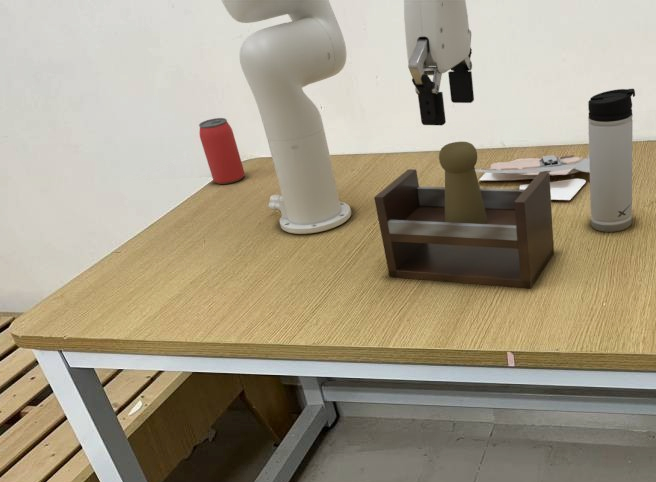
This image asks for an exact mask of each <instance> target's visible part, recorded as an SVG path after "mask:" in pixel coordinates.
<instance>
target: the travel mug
mask: <svg viewBox="0 0 656 482" xmlns="http://www.w3.org/2000/svg"><path fill="white" fill-rule="evenodd" d="M635 96H636V91H635V88H618V89H611V90H607V91H603V92H600V93H596V94H595V95H593V96H592V97H590V100H588V101H587V102H588V103H587V105H588V116H587V117H588V118H587V119H588V124H587V125H588V155H589V157H588V158H589V164H590V172H589V196H590V197H589V198H590V199H589V200H590V226H591V227H592V228H593V229H594V230H596V231H598V232H603V233H615V232H621V231H623V230H626V229H628V228H629V227H630V226H631V225H632V222H633V214H632V213H633V115H634V114H633V101H632V97H633V98H634V97H635Z"/></svg>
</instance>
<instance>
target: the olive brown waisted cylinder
mask: <svg viewBox="0 0 656 482" xmlns="http://www.w3.org/2000/svg"><path fill="white" fill-rule="evenodd" d="M438 160H439V164H440V166H441V168H442V169H443V170H444V187H445V222H450V223H471V224H484V223H485V222H486V221H487V216H486V211H485V207H484V203H483V199H482V195H481V191H480V188H481V187H480V184H479V179H478V175H477V172H476V171H475V169H476V168H475V167H476V164H477V162H478V152H477V148H476V147H475V146H474V145H473V143H471V142H468V141H454V142H449V143H447V144H445V145H444V146H442V147H441V149H440V151H439V153H438Z"/></svg>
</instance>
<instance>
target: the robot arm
mask: <svg viewBox="0 0 656 482" xmlns="http://www.w3.org/2000/svg"><path fill="white" fill-rule="evenodd" d="M221 2H222V4H223V7H224V8H225V9H226V12H227V13H228V15H230V17H231V18H232V19H233V20H234V21H236V22H238V23H241V24H251V23H252V24H253V23H257V22H261V21H266V20H270V19H274V18H277V17H281V16H282V17H283V16H285V15H288V17H289V18H290V20H291V21H287V22H283V23H279V24H275V25H272V26H268V27H265V28H261V29H258V30H257V31H255V32H252V33H251V34H250V35H248V36H247V37H246V38H245V39H244V41H243V42H242V44H241V45H240V49H239V63H240V66H241V70H242V72H243V75H244V77H245V79H246V81H247V84H248V87H249V88H250V91H251V93H252V95H253V97H254V101H255V103H256V105H257V109H258V112H259V114H260V118H261V122H262V125H263V126H262V127H263V129H264V133H265V137H266V140H267V144H268V148H269V151H270V156H271V160H272V163H273V167H274V171H275V174H276V178H277V182H278V186H279V189H280V193H281V194H272V195H270V197H269V203H268V209H269V210H270V211H280V213H281V216H280V218H279V226H280V228H281V230H283V231H284V232H287V233H290V234H296V235H297V234H298V235H307V234H316V233H321V232H325V231H328V230H331V229H334V228H336V227H338V226H339V227H340V225H343V224H344V223H345V222H347V221H349V219H350V217H351V216H352V209H351V206H350V205H349V204H348V203H346V202H343V201H340V196H339V192H338V187H337V182H336V177H335V172H334V169H333V163H332V159H331V154H330V149H329V146H328V141H327V137H326V132H325V131H326V130H325V127H324V123H323V119H322V115H321V112H320V111H319V108H318V107H317V105H316V103H314V101H312V100H311V99H310V98H309V96H308V95H307V94H306V93H305V92H304V90H303V88H305V87H307V86H308V85H311V84H315V83H317V82H321V81H323V80H326V79H329V78H332V77H334V76H336V75H338V74H339V73H340V72H342V70H343V69H344V67H345V66H346V63H347V47H346V42H345V39H344V35H343V32H342V30H341V27H340V25H339V23H338V19H337V17H336V15H335V12H334V10H333V7H332V5H331V2H330V1H329V0H221ZM403 20H404V35H405V45H406V55H407V68H408V70H409V73H410V76H411V82H412V84H413V85H414V87H415V88H414V89H415V90H414V91H415V93H416V95H417V98H418V100H417V101H418V107H419V114H420V121H421V124H422V125H423V126H444V125H445V124H446V122H447V121H446V112H445V104H444V103H445V102H444V95H443V91H440V87H441V82H442V77H443V74H445V73H447V74H448V83H449V92H450V101H451V103H454V104H471V103H473V102H474V101H475V97H474V96H475V94H474V83H473V74H472V70H473V63H472V59H471V56H472V54H473V52H472V51H473V49H472V47H471V45H472V44H471V43H472V30H470V25H469V15H468V9H467V2H466V0H403ZM429 76H432V79H431V78H430V77H429Z"/></svg>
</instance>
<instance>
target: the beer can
mask: <svg viewBox="0 0 656 482" xmlns="http://www.w3.org/2000/svg"><path fill="white" fill-rule="evenodd" d="M198 126H199V138H200V142H201V146H202V148H203V151H204V155H205V159H206V162H207V164H208V168H209V171H210V175H211V177H212V181H213V182H214V183H215V184H218V185H228V184H229V185H230V184H233V183H237V182H239V181H241V180H242V179H243V178H244V177H245V175H246V174H245V170H244V166H243V163H242V159H241V156H240V152H239V149H238V144H237V142H236V138H235V135H234V130H233V128H232V127H231V125H230V124H229V122H228V119H226V117H225V118H224V117H216V118H210V119H207V120H204V121H201V122H200V123H199V124H198Z"/></svg>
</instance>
